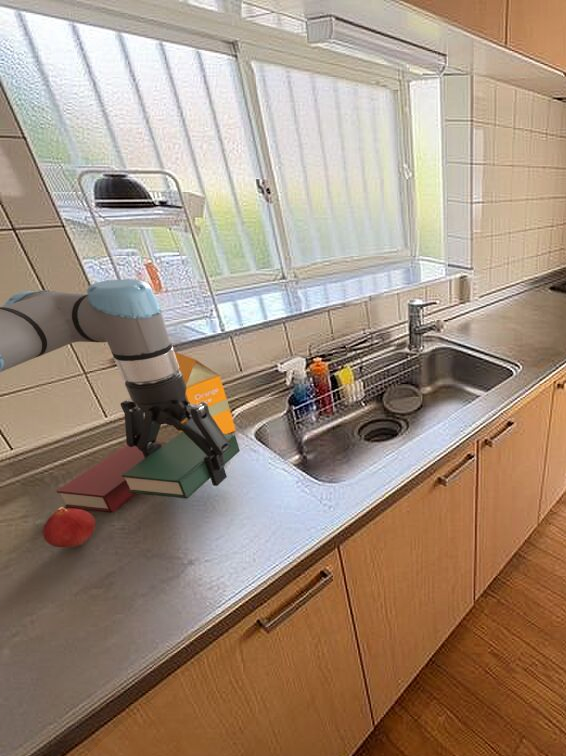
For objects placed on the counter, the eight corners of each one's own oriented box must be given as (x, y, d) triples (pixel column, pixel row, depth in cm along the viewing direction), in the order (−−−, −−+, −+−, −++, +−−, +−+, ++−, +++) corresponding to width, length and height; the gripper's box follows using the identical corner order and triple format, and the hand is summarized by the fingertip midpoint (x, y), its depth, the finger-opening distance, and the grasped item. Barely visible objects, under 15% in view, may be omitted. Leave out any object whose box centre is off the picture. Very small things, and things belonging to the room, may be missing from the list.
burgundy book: (65, 507, 76) (56, 490, 74) (141, 454, 91) (135, 439, 89) (112, 512, 76) (103, 495, 74) (181, 458, 90) (175, 443, 88)
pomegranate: (47, 563, 66) (23, 526, 62) (64, 536, 71) (42, 500, 67) (95, 552, 68) (74, 516, 65) (108, 527, 73) (89, 492, 69)
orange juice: (203, 446, 94) (175, 366, 85) (179, 435, 97) (150, 356, 88) (236, 429, 101) (214, 353, 91) (213, 419, 104) (189, 344, 95)
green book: (129, 492, 73) (121, 475, 71) (190, 446, 86) (184, 429, 84) (187, 498, 73) (180, 480, 71) (240, 450, 85) (235, 434, 83)
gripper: (234, 371, 73) (262, 471, 83) (108, 360, 74) (151, 460, 84) (202, 391, 66) (236, 497, 76) (64, 379, 67) (116, 485, 77)
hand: (191, 478), depth 80 cm, fingers closed on green book, 10 cm apart
